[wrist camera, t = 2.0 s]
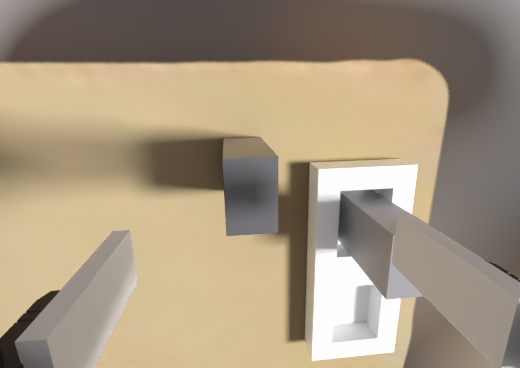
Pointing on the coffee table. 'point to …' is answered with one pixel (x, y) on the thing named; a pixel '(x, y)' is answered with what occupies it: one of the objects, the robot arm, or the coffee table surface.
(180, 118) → the coffee table surface
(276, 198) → the grey rectangular block
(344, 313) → the socket strip
